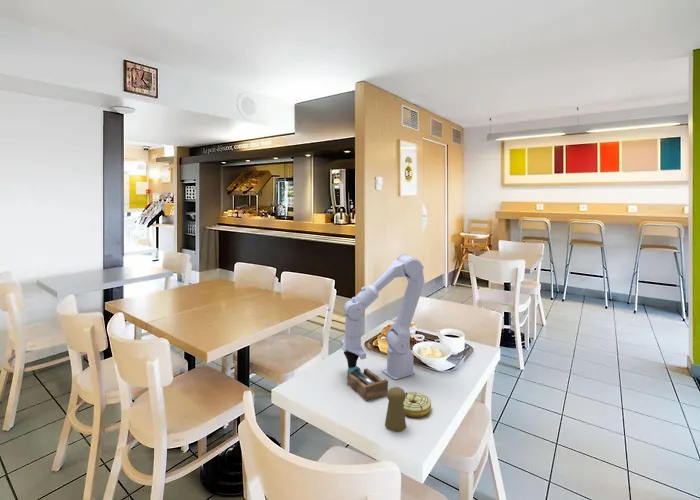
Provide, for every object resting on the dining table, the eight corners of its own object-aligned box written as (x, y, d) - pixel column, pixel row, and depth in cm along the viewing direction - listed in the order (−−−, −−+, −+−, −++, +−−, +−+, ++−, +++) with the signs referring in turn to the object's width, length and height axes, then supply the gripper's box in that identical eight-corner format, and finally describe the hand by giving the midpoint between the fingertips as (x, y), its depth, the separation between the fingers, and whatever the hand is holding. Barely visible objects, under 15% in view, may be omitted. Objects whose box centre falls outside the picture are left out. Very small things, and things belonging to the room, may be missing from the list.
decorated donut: (401, 397, 124) (401, 386, 124) (434, 405, 120) (434, 394, 119) (391, 413, 115) (391, 401, 114) (425, 422, 110) (426, 410, 110)
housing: (347, 384, 131) (347, 371, 131) (366, 378, 136) (366, 365, 135) (367, 401, 121) (367, 387, 120) (387, 395, 125) (388, 380, 124)
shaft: (347, 378, 135) (347, 366, 134) (357, 375, 137) (357, 363, 136) (370, 396, 123) (370, 383, 122) (381, 393, 125) (381, 380, 124)
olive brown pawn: (405, 433, 105) (406, 396, 103) (383, 430, 106) (384, 393, 105) (406, 420, 111) (407, 385, 109) (386, 417, 112) (386, 383, 110)
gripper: (333, 329, 138) (333, 364, 140) (353, 343, 126) (353, 381, 128) (349, 326, 141) (349, 360, 144) (371, 339, 129) (370, 376, 131)
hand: (352, 370), depth 136 cm, fingers closed, pressing on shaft
